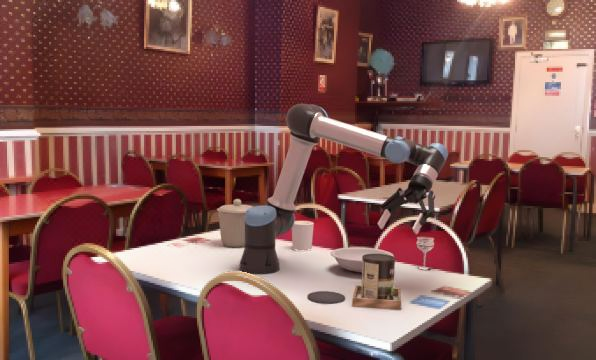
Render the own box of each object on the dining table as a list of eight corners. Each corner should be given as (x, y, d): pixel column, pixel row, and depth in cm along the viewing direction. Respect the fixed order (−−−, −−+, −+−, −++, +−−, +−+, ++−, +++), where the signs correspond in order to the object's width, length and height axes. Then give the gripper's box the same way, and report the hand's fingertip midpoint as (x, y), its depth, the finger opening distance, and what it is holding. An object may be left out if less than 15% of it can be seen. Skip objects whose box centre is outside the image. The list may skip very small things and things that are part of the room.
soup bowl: (318, 266, 224) (318, 250, 224) (368, 261, 236) (368, 245, 235) (353, 281, 203) (354, 263, 203) (406, 274, 215) (407, 257, 215)
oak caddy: (352, 306, 175) (352, 298, 175) (355, 292, 190) (355, 285, 189) (400, 309, 173) (401, 301, 173) (400, 295, 187) (400, 288, 187)
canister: (232, 251, 248) (232, 202, 246) (208, 244, 261) (209, 198, 259) (264, 246, 260) (265, 200, 258) (240, 239, 273) (241, 195, 271)
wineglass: (412, 267, 228) (413, 237, 227) (426, 266, 230) (428, 236, 229) (421, 271, 221) (422, 240, 220) (436, 270, 224) (437, 239, 223)
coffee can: (394, 297, 185) (396, 254, 184) (392, 307, 175) (394, 261, 174) (362, 295, 187) (363, 252, 186) (359, 304, 177) (360, 259, 176)
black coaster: (304, 302, 178) (304, 300, 178) (310, 291, 190) (310, 289, 190) (343, 305, 176) (343, 303, 176) (346, 294, 188) (346, 292, 188)
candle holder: (313, 251, 251) (313, 224, 250) (290, 251, 251) (291, 224, 250) (312, 247, 261) (313, 221, 259) (291, 246, 261) (291, 220, 260)
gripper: (459, 190, 192) (434, 241, 183) (396, 185, 209) (370, 231, 200) (451, 175, 188) (425, 226, 178) (388, 171, 205) (361, 217, 196)
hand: (396, 229), depth 189 cm, fingers open, 13 cm apart
